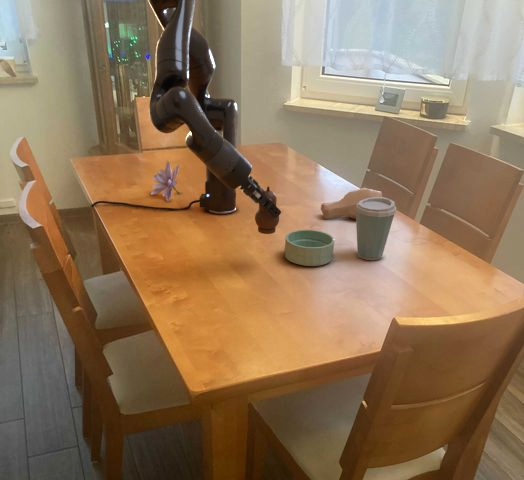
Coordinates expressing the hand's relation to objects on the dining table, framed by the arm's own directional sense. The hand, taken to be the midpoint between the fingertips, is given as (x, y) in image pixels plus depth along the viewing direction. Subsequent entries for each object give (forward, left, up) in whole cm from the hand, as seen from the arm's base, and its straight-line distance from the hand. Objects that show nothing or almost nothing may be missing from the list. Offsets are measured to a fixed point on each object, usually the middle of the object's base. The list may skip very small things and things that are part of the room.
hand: (274, 210), depth 134 cm
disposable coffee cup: (+26, +10, -15) cm, 31 cm away
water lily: (-40, +51, -15) cm, 66 cm away
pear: (-2, -1, -5) cm, 5 cm away
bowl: (+9, +6, -14) cm, 18 cm away
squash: (+23, +40, -15) cm, 48 cm away
